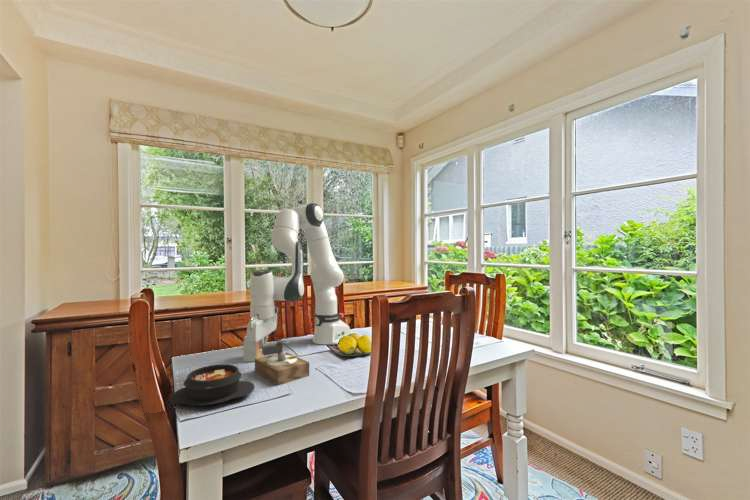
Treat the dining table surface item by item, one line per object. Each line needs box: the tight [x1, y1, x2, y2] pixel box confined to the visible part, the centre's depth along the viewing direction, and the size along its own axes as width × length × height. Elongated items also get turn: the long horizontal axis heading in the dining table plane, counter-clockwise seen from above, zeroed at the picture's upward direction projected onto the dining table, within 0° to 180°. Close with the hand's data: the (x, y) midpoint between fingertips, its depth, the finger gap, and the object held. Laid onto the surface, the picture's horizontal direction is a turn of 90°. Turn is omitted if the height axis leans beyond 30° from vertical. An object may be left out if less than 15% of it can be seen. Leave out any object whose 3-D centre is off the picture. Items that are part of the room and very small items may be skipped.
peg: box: [262, 339, 298, 361], centre depth 132 cm, size 13×4×7 cm, turn 124°
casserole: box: [168, 364, 255, 407], centre depth 112 cm, size 25×19×8 cm
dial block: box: [254, 351, 310, 386], centre depth 132 cm, size 13×18×5 cm
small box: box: [243, 335, 264, 362], centre depth 149 cm, size 8×6×10 cm
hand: (262, 347), depth 133 cm, fingers closed
